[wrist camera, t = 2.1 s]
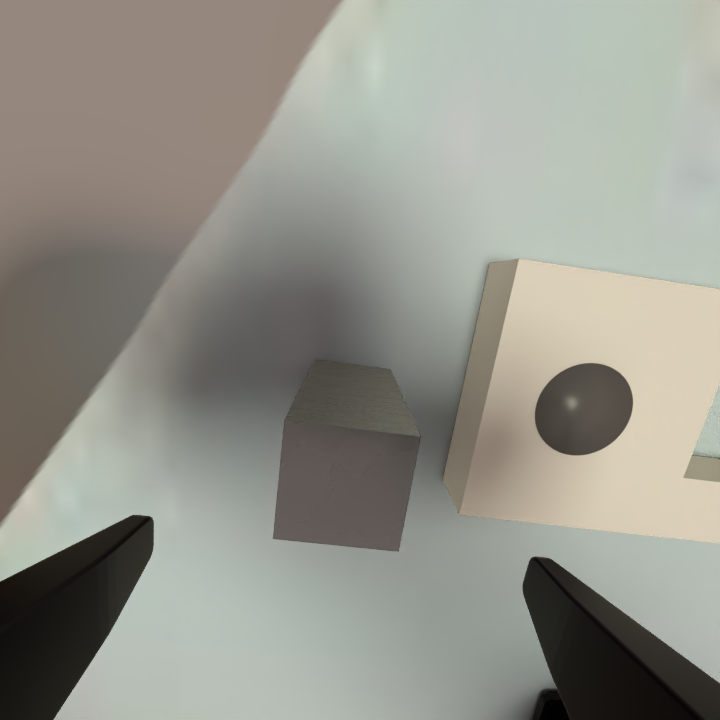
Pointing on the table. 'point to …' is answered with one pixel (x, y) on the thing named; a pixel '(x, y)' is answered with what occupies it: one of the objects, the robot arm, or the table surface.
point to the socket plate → (589, 403)
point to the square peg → (346, 459)
